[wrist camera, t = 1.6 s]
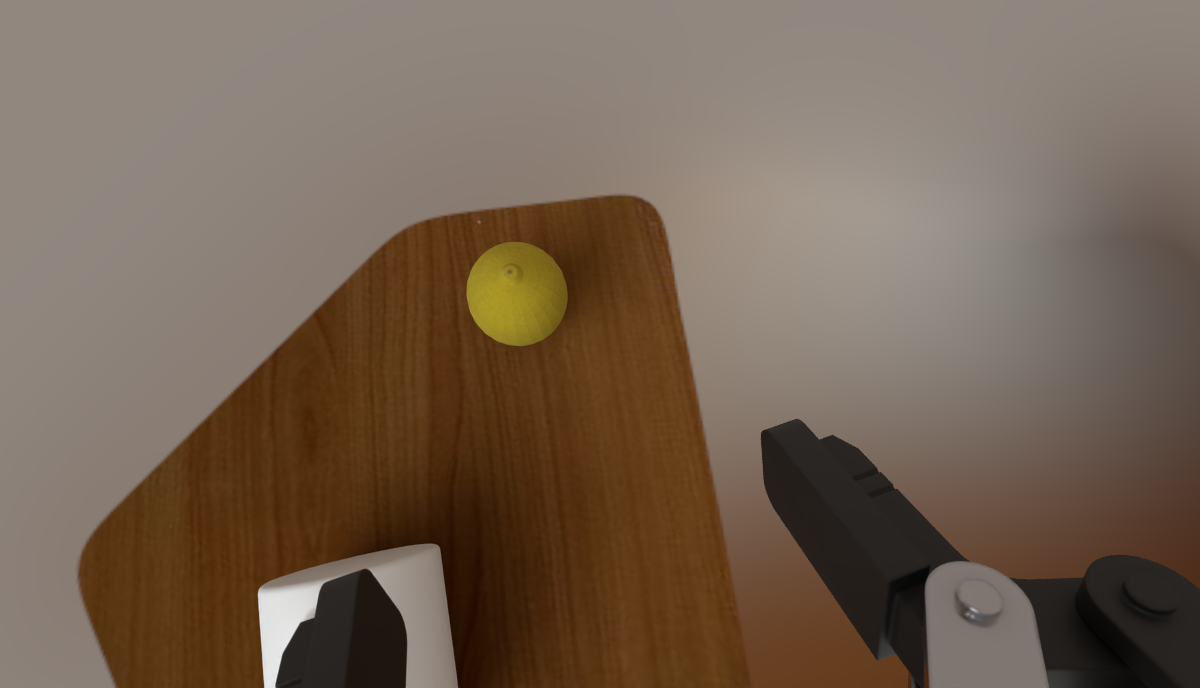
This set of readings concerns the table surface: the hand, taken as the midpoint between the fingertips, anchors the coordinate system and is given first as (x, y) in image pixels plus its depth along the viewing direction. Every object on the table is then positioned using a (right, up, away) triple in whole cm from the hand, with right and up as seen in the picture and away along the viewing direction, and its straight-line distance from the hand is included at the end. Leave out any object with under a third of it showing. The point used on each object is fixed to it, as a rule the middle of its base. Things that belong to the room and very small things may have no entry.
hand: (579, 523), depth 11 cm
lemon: (-4, +5, +24) cm, 25 cm away
